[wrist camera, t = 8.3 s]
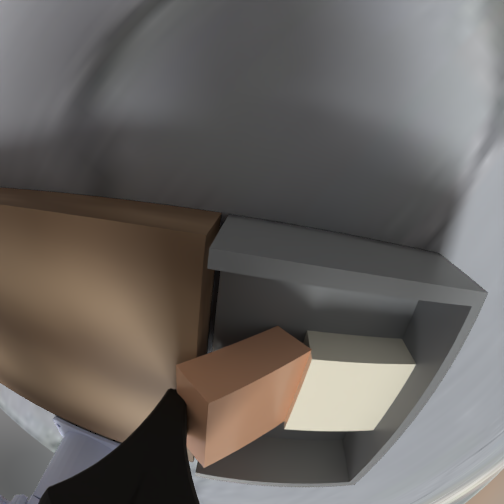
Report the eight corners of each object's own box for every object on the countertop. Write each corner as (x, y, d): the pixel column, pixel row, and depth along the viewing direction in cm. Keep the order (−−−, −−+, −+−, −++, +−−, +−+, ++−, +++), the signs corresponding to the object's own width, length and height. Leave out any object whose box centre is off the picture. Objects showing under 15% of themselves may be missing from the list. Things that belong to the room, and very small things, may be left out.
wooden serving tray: (201, 426, 16) (193, 462, 14) (-9, 344, 16) (-28, 362, 14) (221, 212, 11) (205, 235, 9) (-43, 184, 11) (-72, 194, 9)
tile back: (284, 429, 12) (283, 401, 14) (373, 430, 12) (366, 404, 14) (311, 359, 11) (307, 330, 13) (416, 364, 11) (401, 338, 13)
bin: (346, 438, 16) (354, 484, 13) (206, 427, 16) (195, 476, 13) (439, 253, 11) (488, 292, 8) (229, 214, 11) (209, 248, 8)
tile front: (259, 398, 14) (285, 420, 13) (179, 437, 11) (203, 468, 10) (277, 325, 13) (312, 349, 11) (176, 364, 9) (208, 403, 8)
